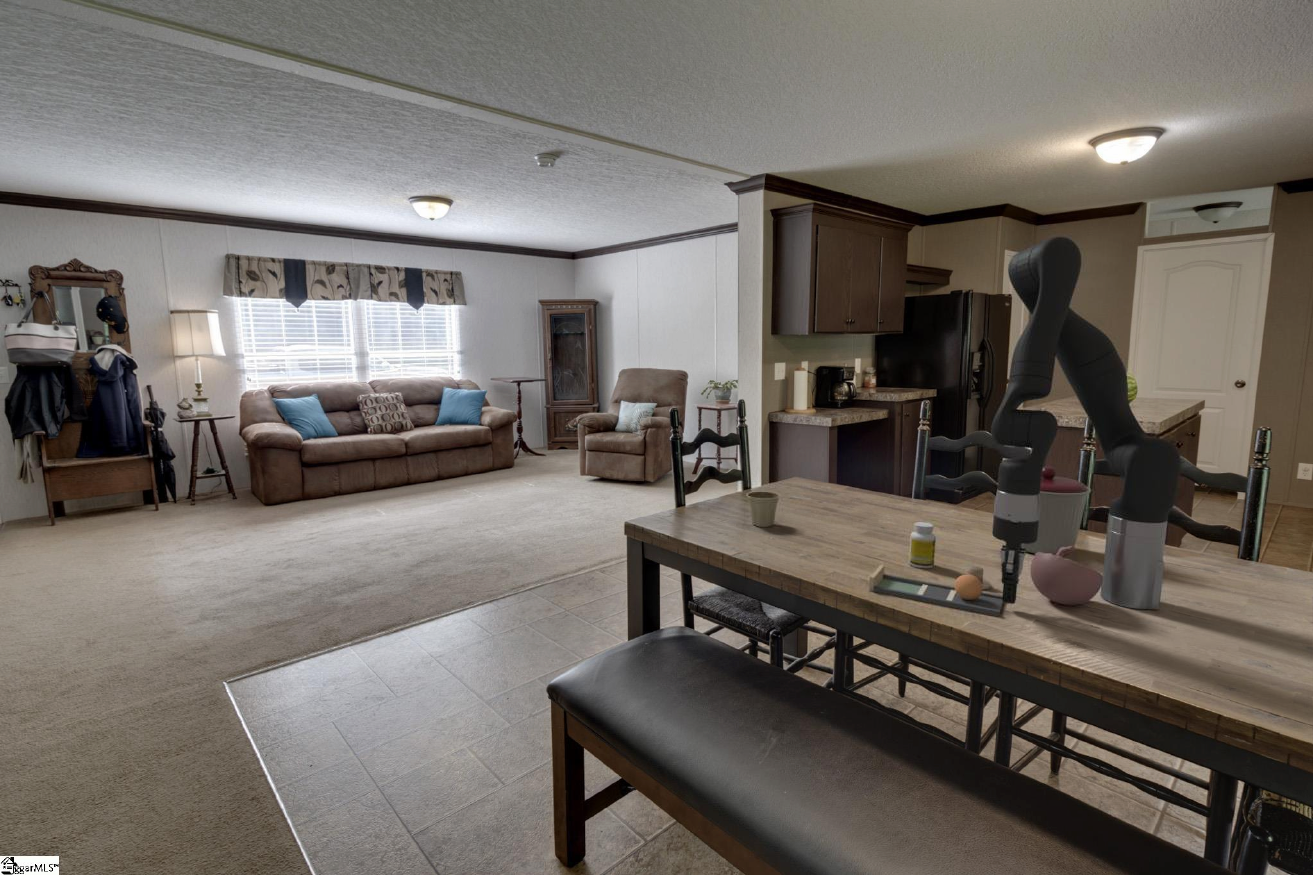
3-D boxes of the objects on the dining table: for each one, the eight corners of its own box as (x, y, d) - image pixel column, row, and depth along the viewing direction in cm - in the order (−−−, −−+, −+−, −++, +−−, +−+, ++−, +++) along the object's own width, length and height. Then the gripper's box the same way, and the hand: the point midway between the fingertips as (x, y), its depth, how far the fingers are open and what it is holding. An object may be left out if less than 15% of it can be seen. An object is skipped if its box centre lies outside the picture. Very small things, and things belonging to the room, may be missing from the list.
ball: (983, 597, 128) (984, 573, 127) (980, 606, 124) (981, 581, 123) (956, 592, 131) (957, 568, 130) (952, 600, 126) (953, 576, 126)
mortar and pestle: (1111, 606, 125) (1117, 550, 123) (1078, 620, 119) (1084, 560, 117) (1049, 587, 135) (1053, 534, 133) (1015, 598, 129) (1019, 543, 128)
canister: (1065, 567, 147) (1073, 477, 144) (986, 547, 162) (992, 465, 158) (1097, 552, 158) (1105, 468, 155) (1020, 534, 172) (1026, 457, 169)
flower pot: (740, 521, 186) (741, 492, 185) (769, 518, 189) (770, 490, 187) (754, 530, 177) (755, 499, 176) (785, 527, 180) (786, 497, 179)
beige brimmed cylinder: (991, 583, 137) (992, 567, 137) (988, 592, 132) (989, 575, 132) (961, 577, 140) (962, 561, 140) (956, 586, 136) (958, 569, 135)
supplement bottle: (936, 569, 145) (938, 528, 144) (911, 568, 147) (913, 526, 145) (931, 562, 151) (933, 521, 149) (906, 560, 152) (909, 520, 150)
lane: (1003, 600, 128) (1004, 586, 127) (999, 616, 120) (1000, 601, 120) (880, 577, 141) (880, 564, 140) (869, 590, 133) (869, 576, 133)
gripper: (997, 504, 128) (991, 587, 131) (989, 519, 117) (982, 608, 120) (1041, 510, 124) (1033, 594, 127) (1037, 525, 113) (1028, 618, 116)
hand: (1008, 601), depth 123 cm, fingers closed
